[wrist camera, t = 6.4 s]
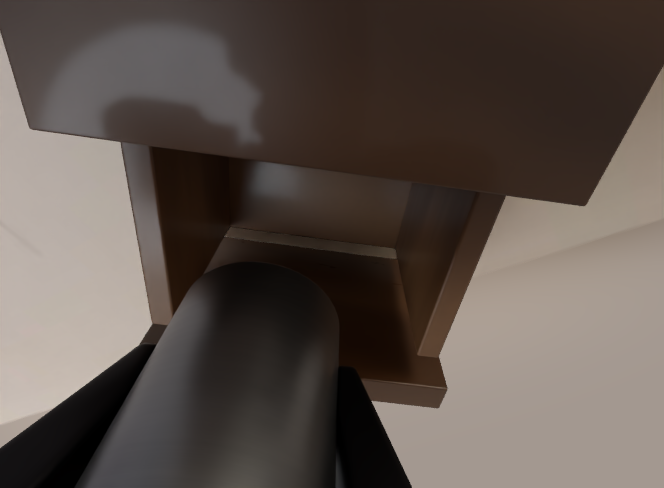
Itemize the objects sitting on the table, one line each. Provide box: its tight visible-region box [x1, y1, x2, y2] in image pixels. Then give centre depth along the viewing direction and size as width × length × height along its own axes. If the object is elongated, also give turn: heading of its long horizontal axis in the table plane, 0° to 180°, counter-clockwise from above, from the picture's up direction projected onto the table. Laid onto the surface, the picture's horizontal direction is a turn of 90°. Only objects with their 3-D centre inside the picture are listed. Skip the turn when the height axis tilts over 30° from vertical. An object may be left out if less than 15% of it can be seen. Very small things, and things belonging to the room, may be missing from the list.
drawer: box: [121, 142, 506, 408], centre depth 15 cm, size 19×11×8 cm, turn 172°
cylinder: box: [74, 261, 339, 488], centre depth 8 cm, size 4×4×6 cm
